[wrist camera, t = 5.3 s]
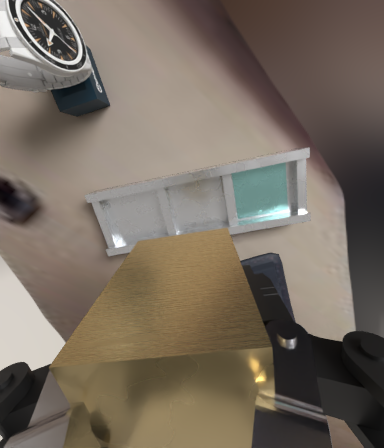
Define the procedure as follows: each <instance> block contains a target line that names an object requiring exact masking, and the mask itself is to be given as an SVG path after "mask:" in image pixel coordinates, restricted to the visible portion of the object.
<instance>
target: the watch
mask: <svg viewBox="0 0 384 448" xmlns="http://www.w3.org/2000/svg"><path fill="white" fill-rule="evenodd" d="M10 47H11V48H10ZM6 50H10V51H9V53H10V56H11V57H13V58H11V57H7V56H3V55H0V85H1V86H2V87H5V88H11V89H17V90H25V91H33V92H47V90H51V92H52V94H53V96H54V99H55V101H56V103H57V106H58V108H59V110H60V112H63V113H67V114H70V115H73V116H77V117H78V116H81V115H83V114H86V113H89V112H92V111H95V110H98V109H101V108H104V107H107V106H110V103H109V101H108V98H107V95H106V92H105V89H104V87H103V84H102V81H101V78H100V75H99V73H98V70H97V67H96V64H95V61H94V59H93V56H92V53H91V50H90V49H89V48H88V47H87V46H86V45H85V43H84V39H83V37H82V35H81V33H80V31H79V29H78V27H77V26H76V25H75V23H74V21H73V20H72V19H71V17H70V16H69V15H68V14H67V12H66V11H65V10H64V9H63V8H62V7H61V6H60V5H59V4H58V3H57V2H56V1H55V0H0V52H2V51H6Z"/></svg>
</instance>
